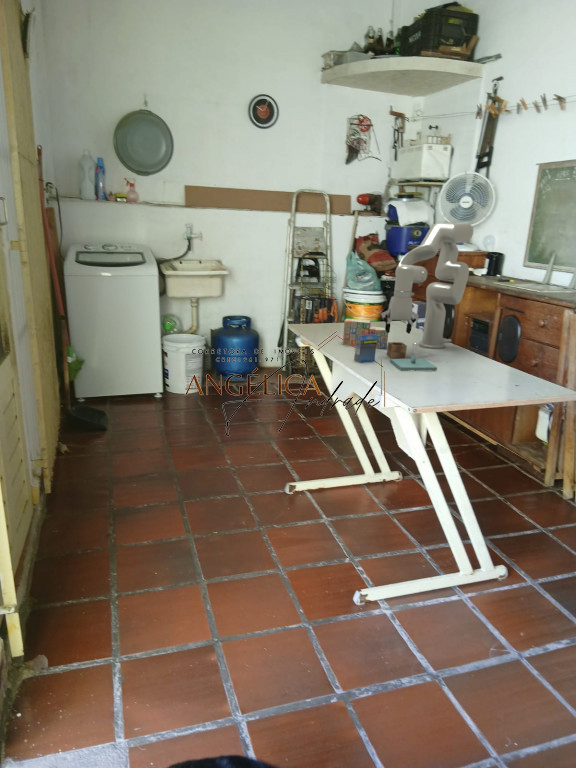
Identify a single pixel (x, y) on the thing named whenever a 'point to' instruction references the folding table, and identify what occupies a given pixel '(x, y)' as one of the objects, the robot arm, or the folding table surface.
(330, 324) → the folding table surface
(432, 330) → the robot arm
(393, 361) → the teal flat board
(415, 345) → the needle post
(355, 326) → the stack of blocks
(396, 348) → the hollow wooden block
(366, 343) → the label tape box
